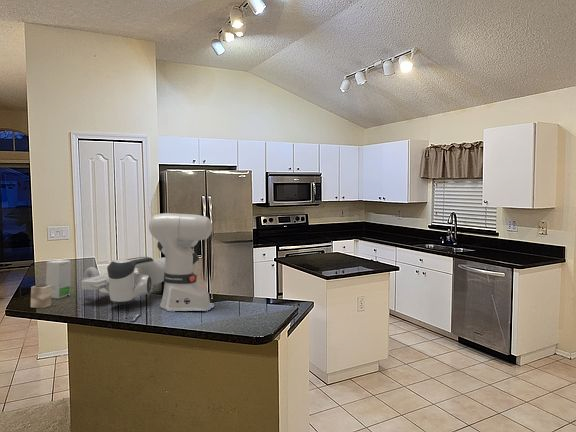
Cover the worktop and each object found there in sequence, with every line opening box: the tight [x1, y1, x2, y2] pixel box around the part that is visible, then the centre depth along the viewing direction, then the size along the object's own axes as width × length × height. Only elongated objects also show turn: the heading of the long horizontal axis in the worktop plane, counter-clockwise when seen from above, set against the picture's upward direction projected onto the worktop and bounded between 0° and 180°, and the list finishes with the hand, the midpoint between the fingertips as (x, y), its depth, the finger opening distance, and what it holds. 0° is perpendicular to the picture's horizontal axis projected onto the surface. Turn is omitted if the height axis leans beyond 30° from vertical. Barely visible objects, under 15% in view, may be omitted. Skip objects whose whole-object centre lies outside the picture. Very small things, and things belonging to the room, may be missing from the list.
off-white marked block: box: [99, 288, 110, 294], centre depth 197 cm, size 5×5×8 cm
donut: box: [83, 266, 101, 278], centre depth 204 cm, size 10×4×10 cm, turn 59°
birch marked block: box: [30, 284, 52, 309], centre depth 167 cm, size 5×5×8 cm
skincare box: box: [45, 259, 72, 300], centre depth 183 cm, size 8×7×16 cm
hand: (83, 279), depth 181 cm, fingers closed
